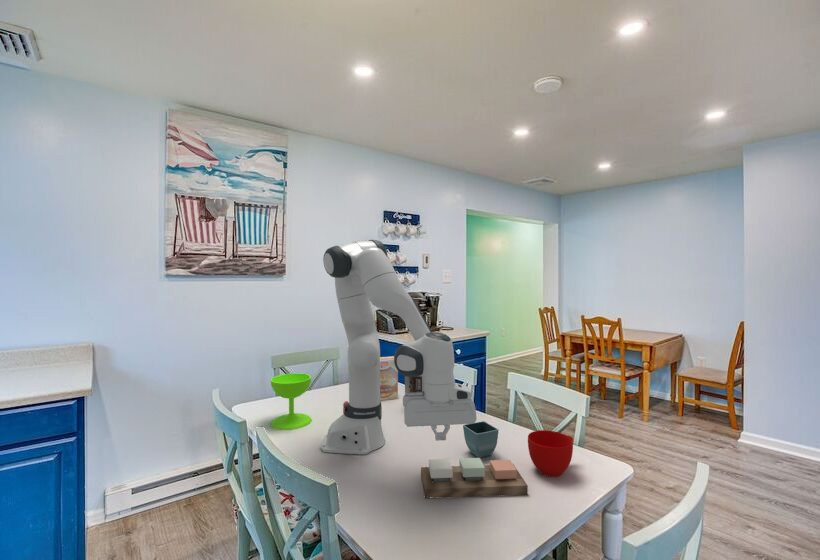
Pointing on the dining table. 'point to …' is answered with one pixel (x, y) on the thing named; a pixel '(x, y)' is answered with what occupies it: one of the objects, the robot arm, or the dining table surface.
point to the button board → (472, 485)
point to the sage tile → (472, 468)
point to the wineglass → (291, 399)
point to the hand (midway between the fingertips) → (440, 439)
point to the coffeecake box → (388, 379)
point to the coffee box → (414, 384)
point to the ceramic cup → (550, 451)
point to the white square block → (440, 470)
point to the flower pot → (481, 438)
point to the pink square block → (503, 469)
